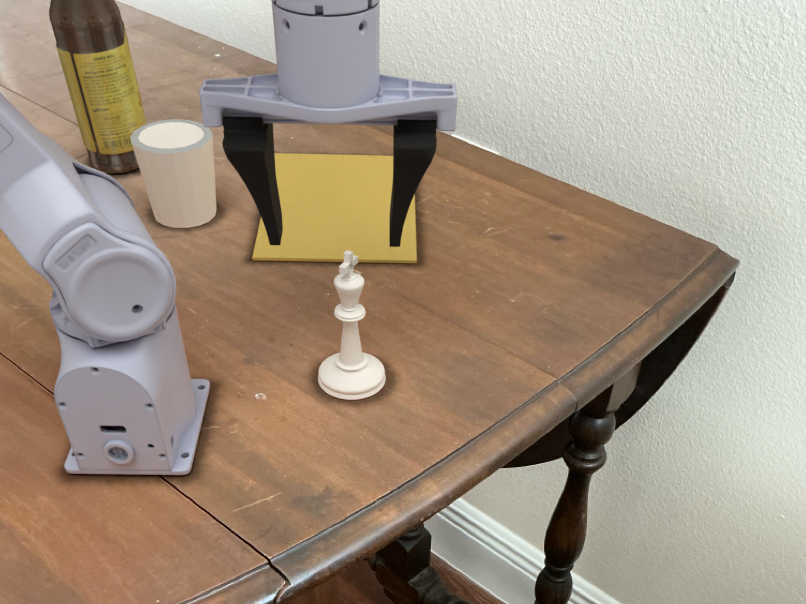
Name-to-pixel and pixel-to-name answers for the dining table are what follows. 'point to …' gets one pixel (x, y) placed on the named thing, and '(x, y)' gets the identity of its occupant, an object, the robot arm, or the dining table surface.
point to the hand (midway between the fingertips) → (335, 238)
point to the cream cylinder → (177, 171)
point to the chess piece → (350, 343)
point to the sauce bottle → (99, 79)
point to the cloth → (336, 210)
